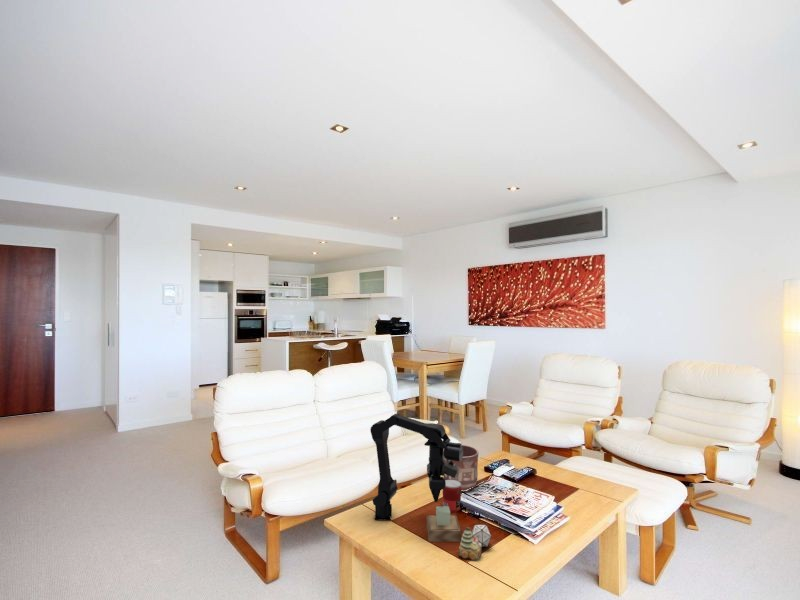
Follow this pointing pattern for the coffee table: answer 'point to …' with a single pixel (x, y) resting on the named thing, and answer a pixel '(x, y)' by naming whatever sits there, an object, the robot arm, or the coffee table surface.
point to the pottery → (465, 468)
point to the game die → (481, 534)
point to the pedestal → (443, 530)
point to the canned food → (452, 495)
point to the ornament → (469, 546)
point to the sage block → (443, 515)
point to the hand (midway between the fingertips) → (435, 496)
